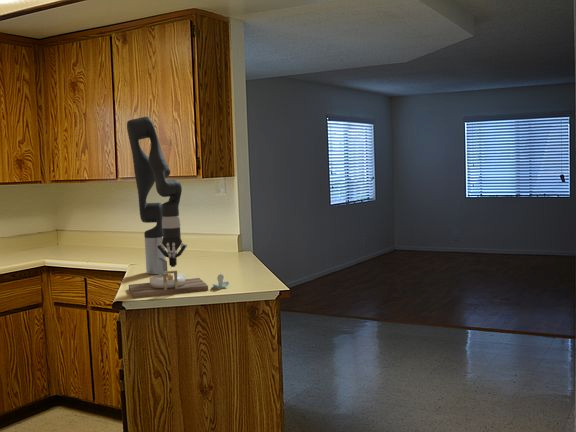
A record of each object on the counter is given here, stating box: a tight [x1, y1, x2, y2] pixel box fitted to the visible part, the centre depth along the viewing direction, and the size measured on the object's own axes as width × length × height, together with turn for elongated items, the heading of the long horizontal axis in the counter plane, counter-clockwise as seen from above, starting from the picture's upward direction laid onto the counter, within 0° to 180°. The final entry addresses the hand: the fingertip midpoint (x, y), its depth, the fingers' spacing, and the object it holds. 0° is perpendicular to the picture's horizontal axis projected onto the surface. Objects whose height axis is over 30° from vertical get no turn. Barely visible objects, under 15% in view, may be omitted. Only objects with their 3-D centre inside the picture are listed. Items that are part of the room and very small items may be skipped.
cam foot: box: [149, 257, 186, 288], centre depth 274 cm, size 23×14×9 cm, turn 24°
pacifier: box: [210, 273, 230, 290], centre depth 271 cm, size 7×6×6 cm
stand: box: [128, 270, 209, 299], centre depth 270 cm, size 18×30×9 cm, turn 109°
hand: (173, 266), depth 282 cm, fingers closed
